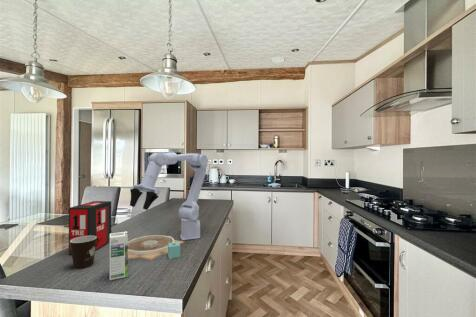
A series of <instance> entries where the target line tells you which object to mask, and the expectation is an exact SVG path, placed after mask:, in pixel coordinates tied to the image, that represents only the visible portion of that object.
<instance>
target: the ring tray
mask: <svg viewBox="0 0 476 317" xmlns="http://www.w3.org/2000/svg"><path fill="white" fill-rule="evenodd" d="M174 238H175V237H173V236H172V235H170V236H169V235H163V234H160V235H157V234H152V235H144V236H141V237H140V236H139V237H135V238H134V239H130V240H128V261H129V260H135V259H141V260H147V261H154V260H155V259H157V258H159V257H160V256H164V255H168V243H174V242H179V244H180V246H181V245H183V244H184V243H185V241H184V240H176V239H174Z"/></svg>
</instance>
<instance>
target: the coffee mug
mask: <svg viewBox="0 0 476 317" xmlns="http://www.w3.org/2000/svg"><path fill="white" fill-rule="evenodd" d="M96 240H97V243H96ZM98 242H99V239H98V237H96V236H81V237H77V238H74V239H72V240H70V245H71V252H72V255H71V258H72V266H73V269H74V270H75V269H76V270H81V269H86V268H89V267H91V266H93V265H94V261H95V253H96V251H95V248H96V246H97V244H98Z"/></svg>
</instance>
